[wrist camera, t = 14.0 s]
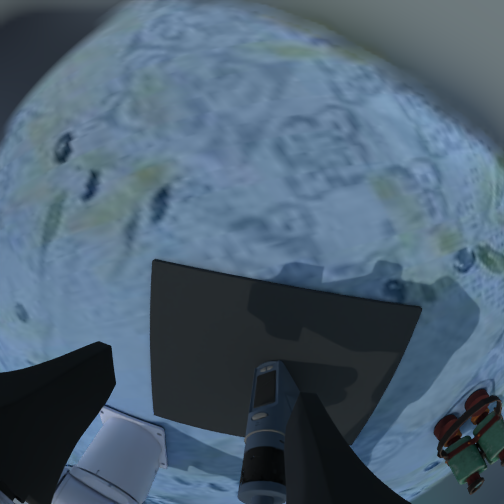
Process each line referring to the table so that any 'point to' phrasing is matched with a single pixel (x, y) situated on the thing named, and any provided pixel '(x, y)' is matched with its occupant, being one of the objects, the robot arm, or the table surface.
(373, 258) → the table surface
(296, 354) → the mat
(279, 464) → the vaping device
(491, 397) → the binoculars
